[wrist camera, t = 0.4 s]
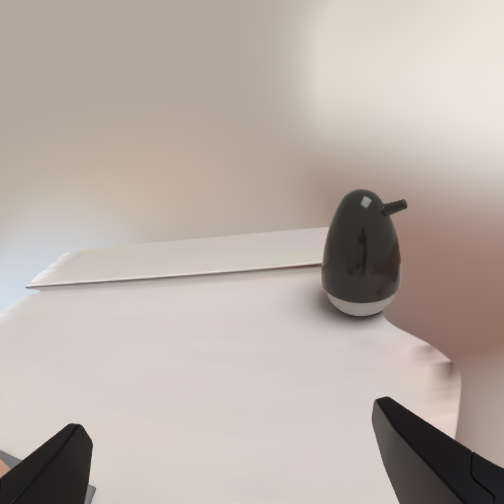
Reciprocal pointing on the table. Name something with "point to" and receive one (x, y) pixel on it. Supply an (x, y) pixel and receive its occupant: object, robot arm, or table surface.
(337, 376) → the table surface
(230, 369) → the table surface
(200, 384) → the table surface
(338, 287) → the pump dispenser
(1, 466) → the salmon orange block
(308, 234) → the table surface
